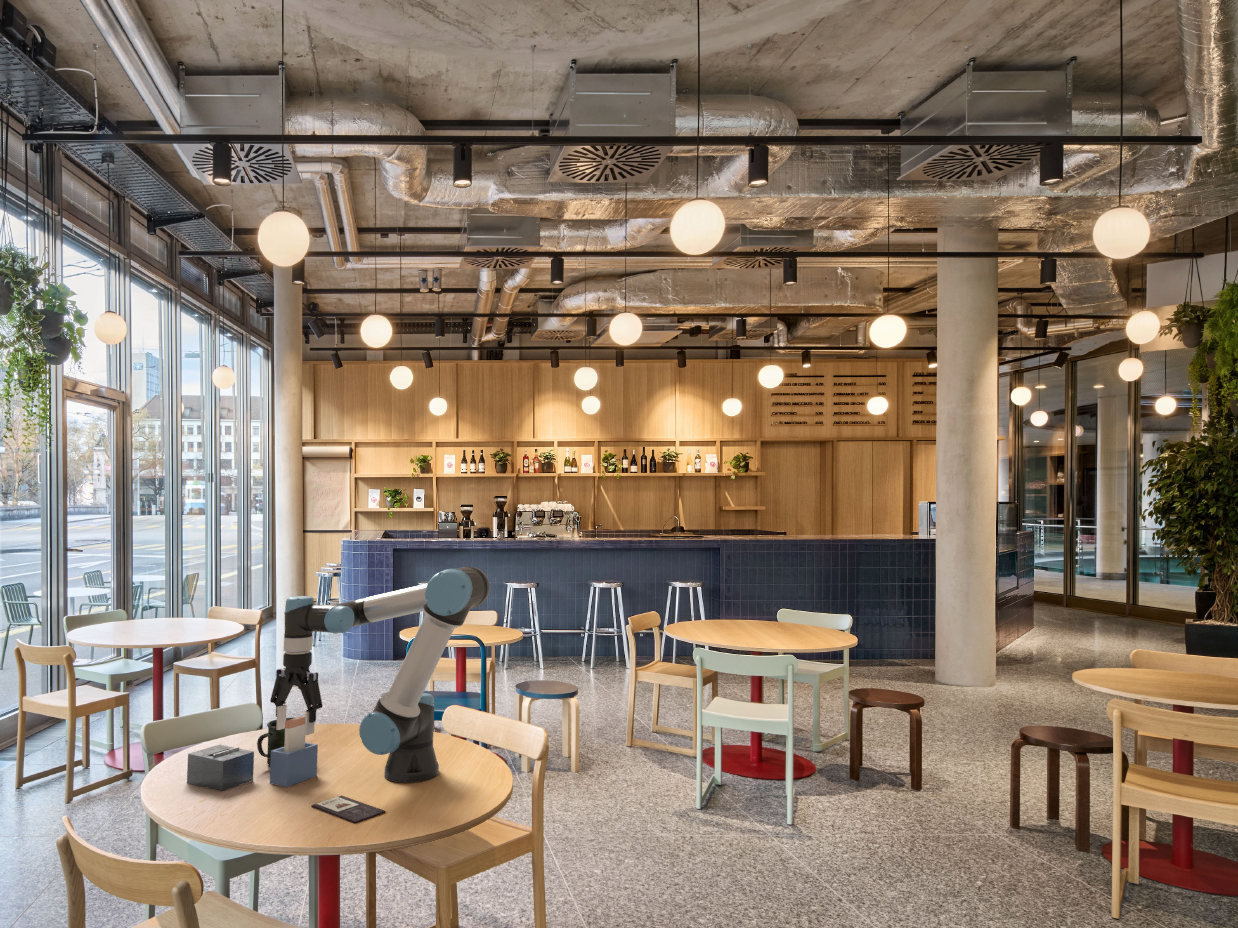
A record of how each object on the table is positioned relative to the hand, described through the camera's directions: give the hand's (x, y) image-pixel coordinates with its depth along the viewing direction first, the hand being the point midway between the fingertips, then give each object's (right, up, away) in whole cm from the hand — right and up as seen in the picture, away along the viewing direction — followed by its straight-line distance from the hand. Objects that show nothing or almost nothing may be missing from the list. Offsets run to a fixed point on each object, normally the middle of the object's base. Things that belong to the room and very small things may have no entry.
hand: (295, 731), depth 232 cm
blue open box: (0, -13, -1) cm, 13 cm away
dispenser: (-19, -13, -4) cm, 24 cm away
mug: (-9, -14, +13) cm, 21 cm away
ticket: (0, -12, -1) cm, 12 cm away
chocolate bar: (+22, -13, -23) cm, 35 cm away
